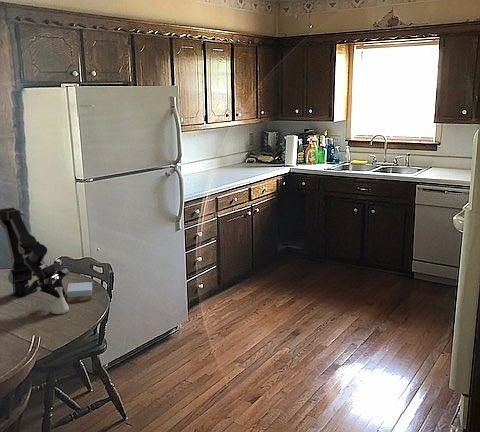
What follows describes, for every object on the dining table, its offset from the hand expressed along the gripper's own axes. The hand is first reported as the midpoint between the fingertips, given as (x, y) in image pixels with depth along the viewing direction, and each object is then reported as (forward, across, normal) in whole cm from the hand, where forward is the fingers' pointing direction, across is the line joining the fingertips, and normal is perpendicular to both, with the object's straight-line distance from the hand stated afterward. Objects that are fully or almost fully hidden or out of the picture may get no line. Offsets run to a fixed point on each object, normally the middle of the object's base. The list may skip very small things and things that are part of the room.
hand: (62, 296), depth 218 cm
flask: (+4, 0, +6) cm, 7 cm away
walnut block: (+2, +16, +8) cm, 18 cm away
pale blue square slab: (0, +16, +6) cm, 18 cm away
